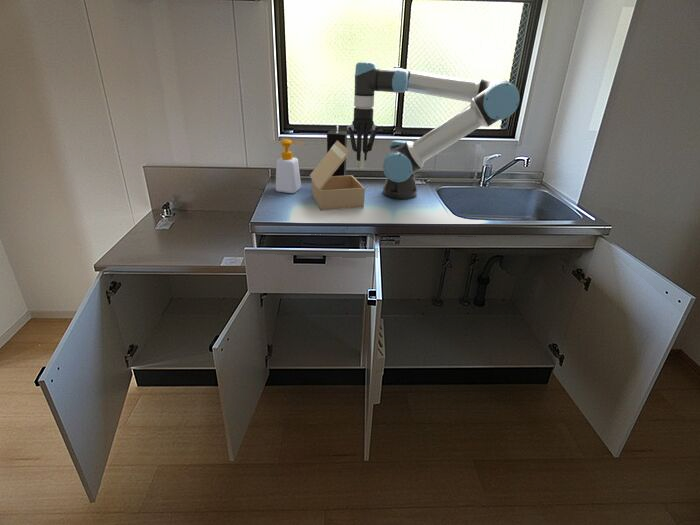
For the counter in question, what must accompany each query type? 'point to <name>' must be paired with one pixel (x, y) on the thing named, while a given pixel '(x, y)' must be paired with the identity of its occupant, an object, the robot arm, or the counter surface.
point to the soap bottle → (287, 170)
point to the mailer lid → (329, 164)
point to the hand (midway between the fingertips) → (361, 168)
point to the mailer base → (339, 193)
